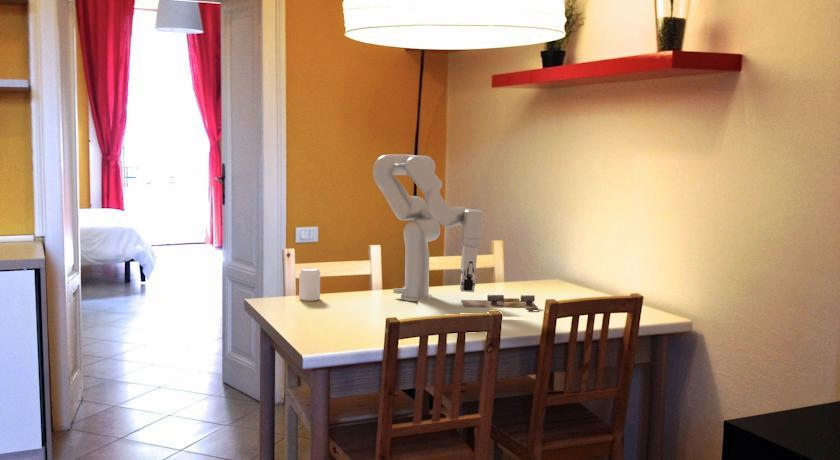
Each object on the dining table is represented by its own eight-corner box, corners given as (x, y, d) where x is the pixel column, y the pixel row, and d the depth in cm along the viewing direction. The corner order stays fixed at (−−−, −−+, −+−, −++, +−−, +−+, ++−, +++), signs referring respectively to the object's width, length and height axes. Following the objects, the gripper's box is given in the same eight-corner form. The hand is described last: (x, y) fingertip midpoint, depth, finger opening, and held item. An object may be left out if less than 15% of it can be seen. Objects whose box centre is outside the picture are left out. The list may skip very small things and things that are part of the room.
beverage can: (322, 297, 316) (322, 267, 314) (317, 302, 308) (317, 271, 306) (301, 296, 316) (302, 267, 315) (296, 301, 308) (296, 270, 307)
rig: (464, 310, 299) (464, 297, 298) (460, 302, 312) (461, 290, 311) (538, 311, 300) (538, 298, 300) (531, 303, 313) (532, 291, 313)
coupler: (460, 291, 303) (462, 276, 302) (459, 288, 308) (460, 273, 307) (474, 292, 303) (475, 276, 302) (472, 289, 308) (474, 274, 307)
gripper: (459, 237, 311) (455, 282, 314) (463, 245, 294) (459, 293, 297) (478, 238, 311) (474, 284, 314) (483, 246, 295) (479, 294, 297)
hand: (467, 288), depth 305 cm, fingers closed on coupler, 5 cm apart
